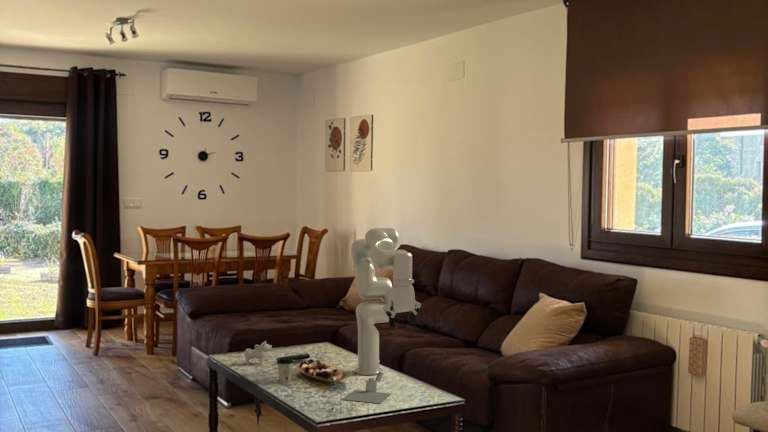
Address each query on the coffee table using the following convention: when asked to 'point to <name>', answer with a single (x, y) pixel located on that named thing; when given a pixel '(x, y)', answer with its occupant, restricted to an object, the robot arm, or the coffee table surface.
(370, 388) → the lighter
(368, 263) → the robot arm
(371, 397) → the mat
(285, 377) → the coffee cup
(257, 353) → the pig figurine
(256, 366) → the coffee table surface
